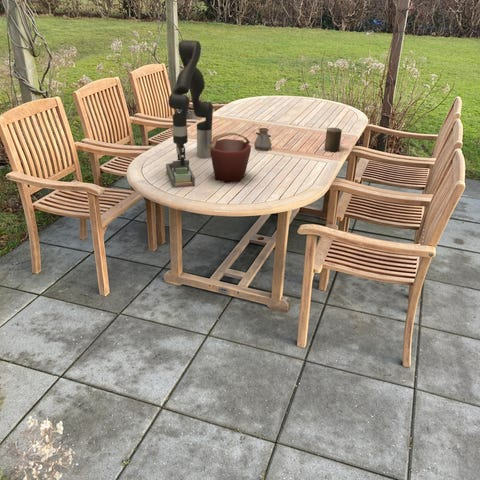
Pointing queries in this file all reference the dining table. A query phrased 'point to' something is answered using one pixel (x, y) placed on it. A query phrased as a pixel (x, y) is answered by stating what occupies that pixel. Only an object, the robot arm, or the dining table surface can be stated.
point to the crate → (181, 172)
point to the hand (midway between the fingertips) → (181, 162)
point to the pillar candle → (333, 139)
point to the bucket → (229, 158)
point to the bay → (172, 180)
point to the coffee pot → (262, 140)
